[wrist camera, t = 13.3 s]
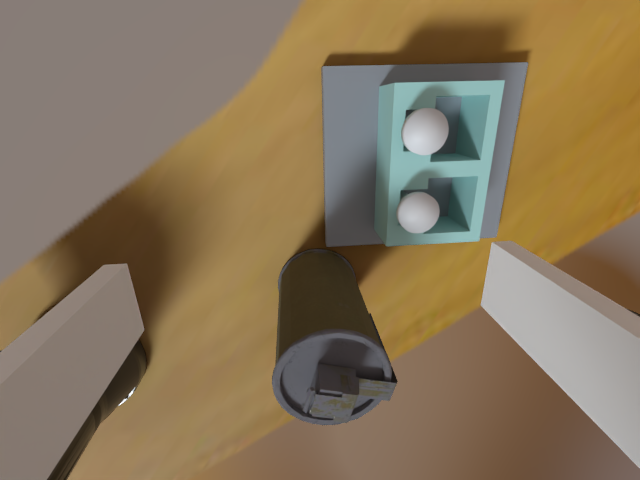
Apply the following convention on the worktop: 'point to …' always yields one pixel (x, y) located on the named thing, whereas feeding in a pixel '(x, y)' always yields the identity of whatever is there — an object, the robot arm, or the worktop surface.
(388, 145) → the teal breeze block
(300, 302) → the canister
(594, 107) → the worktop surface
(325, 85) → the board
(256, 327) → the worktop surface
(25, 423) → the robot arm
